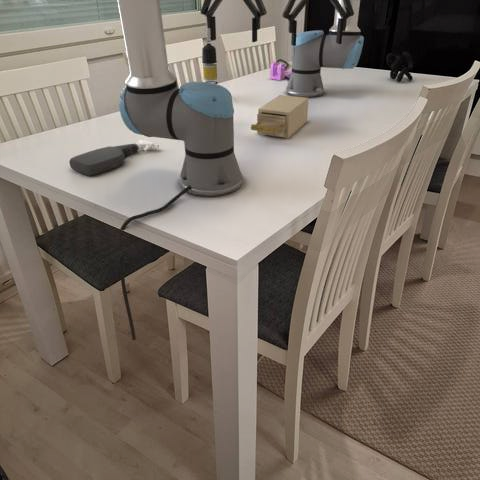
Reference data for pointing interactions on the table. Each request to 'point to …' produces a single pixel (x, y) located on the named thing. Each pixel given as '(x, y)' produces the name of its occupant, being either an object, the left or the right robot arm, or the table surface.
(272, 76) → the bracket
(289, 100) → the wooden box
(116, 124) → the table surface
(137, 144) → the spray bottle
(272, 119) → the drawer
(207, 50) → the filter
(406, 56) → the squiggle
